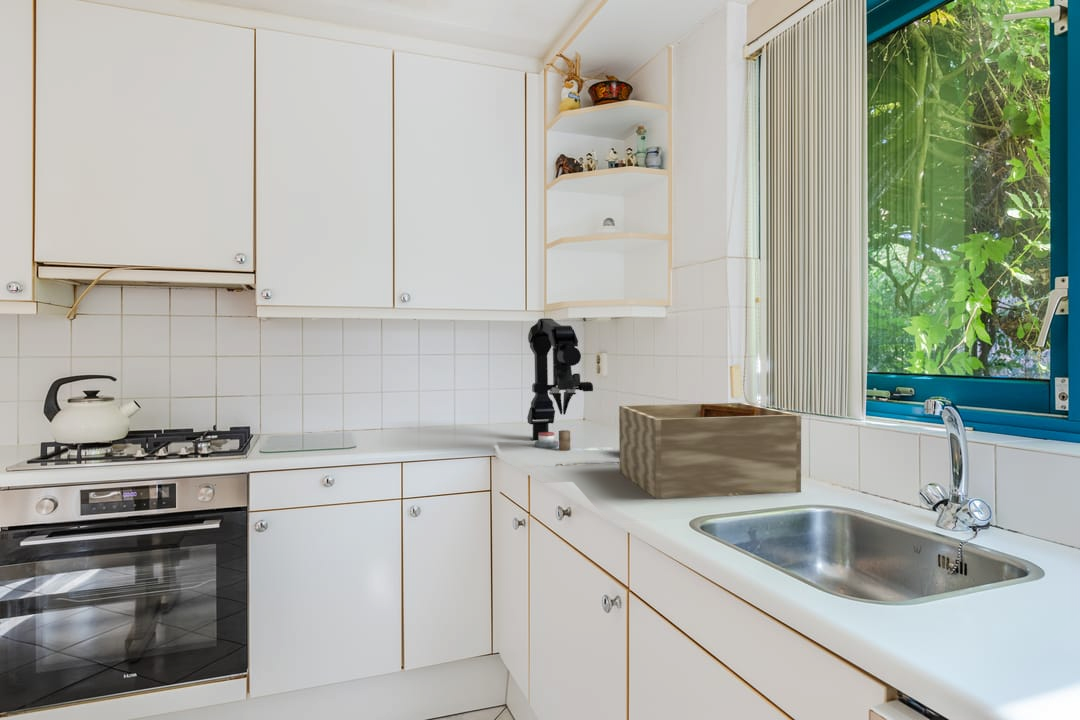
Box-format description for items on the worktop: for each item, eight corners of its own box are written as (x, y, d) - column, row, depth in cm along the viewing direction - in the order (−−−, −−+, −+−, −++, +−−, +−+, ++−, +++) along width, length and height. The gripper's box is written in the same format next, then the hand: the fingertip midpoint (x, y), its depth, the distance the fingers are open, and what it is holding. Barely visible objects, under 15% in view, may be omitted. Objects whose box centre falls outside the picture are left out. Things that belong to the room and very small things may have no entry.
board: (532, 448, 203) (532, 440, 203) (602, 445, 207) (602, 438, 207) (539, 456, 189) (539, 448, 188) (614, 453, 192) (614, 445, 192)
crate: (619, 471, 166) (619, 405, 166) (741, 466, 172) (741, 402, 171) (656, 499, 137) (655, 419, 137) (800, 491, 143) (801, 415, 142)
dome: (537, 441, 202) (537, 432, 202) (552, 440, 203) (552, 431, 203) (539, 443, 197) (539, 434, 197) (555, 443, 198) (555, 434, 198)
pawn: (557, 449, 194) (557, 430, 194) (569, 448, 195) (568, 430, 195) (560, 451, 191) (559, 432, 190) (571, 450, 191) (571, 431, 191)
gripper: (536, 366, 183) (537, 418, 183) (596, 365, 186) (597, 416, 186) (531, 365, 194) (532, 414, 194) (588, 364, 197) (589, 412, 197)
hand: (562, 414), depth 193 cm, fingers closed
